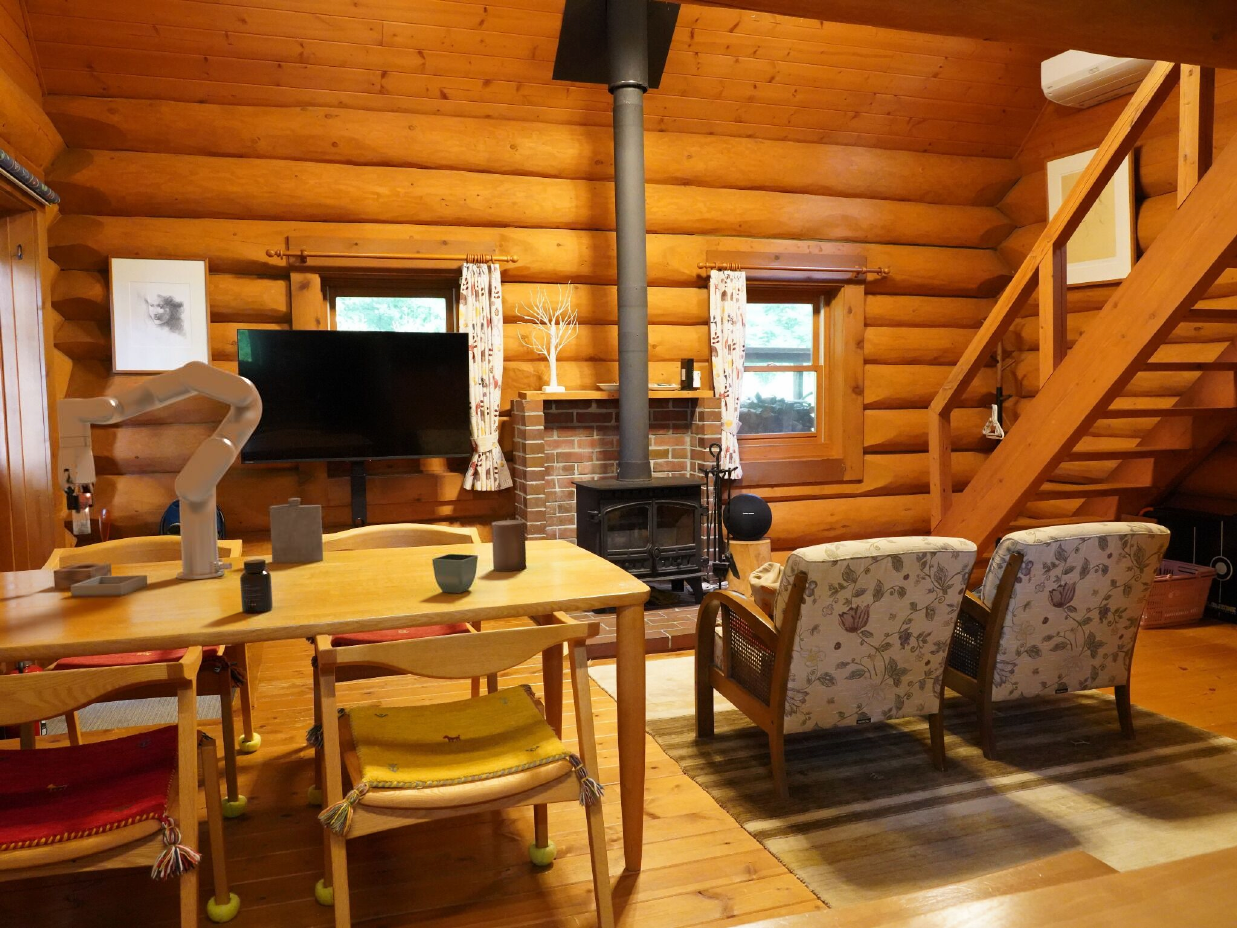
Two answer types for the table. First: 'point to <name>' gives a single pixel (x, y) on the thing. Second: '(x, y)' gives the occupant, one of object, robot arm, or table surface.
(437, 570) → the flower pot
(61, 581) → the block
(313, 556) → the hip flask
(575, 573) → the table surface
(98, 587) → the tray
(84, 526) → the pin
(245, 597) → the supplement bottle
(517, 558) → the pillar candle
